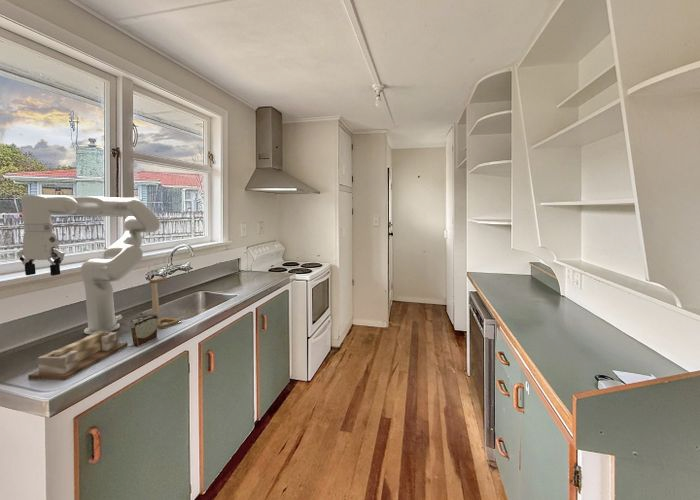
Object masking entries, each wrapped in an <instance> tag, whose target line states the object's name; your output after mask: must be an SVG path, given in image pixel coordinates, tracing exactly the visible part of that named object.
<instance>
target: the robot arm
mask: <svg viewBox="0 0 700 500" xmlns="http://www.w3.org/2000/svg"><path fill="white" fill-rule="evenodd" d="M20 202H21V211H22V221H23V229H24V232H23V235H22V237H23V238H22V249H21V250H20V251H17V256H18V259H19V261H21V262H22V265H24V273H25V276H33V275H35V274H36V264H35V263H34V262H35V261H48V262H49V263H50V265H49V271H50V276H52V277H54V276H59V275H61V267H60V264H62V262H63V260H64V257H65V255H66V252H64V251H62V250H61V249H60V245H59V242H58V237H57V234H56V232H54V231H53V230H54V228H55V227H54V225H53V219H52V216H81V217H82V216H84V217H126V218H125V219H124V222H123V230H124V233H123V235H122V236H121V237H120V238H119V239H118V240H116V242H114V243H112V244H111V245H110V246H109V247H107V248H106V249H105V251H104V252H103V255H102V256H103V257H102V258H92V259H87V260H86V261H85V262H84V263H82V265H81V266H80V275H81V279H82V281H83V285H84V290H85V291H84V292H85V304H86V315H87V326H88V327H86V328H84V329H83V333H84V334H86V335H91V334H93V333H96V332H115V330H118V329H120V327H121V325H120V323H118V321H119V320H121V319H123V315H121V314H119V315H115V312H116V311H115V304H114V303H115V301H114V290H113V286H112V285H113V284H112V283H114V282H118V281H120V280H122V279H123V278H125V277H126V276H127V275H128V274H129V273H131V272H132V271H133V270H134V269H135V268H136V267H137V266H138V265H139V264H140V263H141V261H142V260H143V255H144V254H143V250H142V249H141V247H142V246H141V245H142V235H141V233H155V232H157V231H158V230H159V229H160V225H161V223H160V220H159V217H158V216H157V215H156V214H155V213H154V212H153V211H152V210H151V209H150V208H149V207H148V205H146V204H145V203H144V202H143V201H141V200H140V199H138V198H135V197H111V196H110V197H108V196H107V197H106V196H97V195H96V196H95V195H94V196H69V195H44V194H24V195H22V196H21V199H20ZM111 282H112V283H111Z"/></svg>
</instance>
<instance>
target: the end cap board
mask: <svg viewBox="0 0 700 500" xmlns="http://www.w3.org/2000/svg"><path fill="white" fill-rule="evenodd" d="M96 333H97V332H96ZM93 334H95V333H93ZM105 334H106V335H105V336H103V337H101V339H102V350H100V351H98V352H96V353H94V354H92V355H90V356H88V357H86V358H84V359H82V360H80V361H79V360H78V351H71V352H68V353H66V354H64V355H62V356H60V357H54V353H53V352H54V351H55V350H52V351H50V352H48V353H46V354H43V355H40V356H38V357H37V364H38V365H37V366H38V370H37V371H34V372H32V373H30V374H28V375H27V376H28V377H27V378H28V380H53V381H54V380H56V381H59V380H60V381H66V379H67V380H68V379H70V378H73V376H75V375H77V374H79V373H81V372H82V371H85V370H86V369H89V368H90V367H92V366H94V365H95V364H98V363H99V362H101V361H103V360H105V359H107V358H108V357H110V356H112V355H114V354H116V353H117V352H119V351H121V350H123V349H125V348H126V347H128V343H126V342H125V343H124V342H120V339H119V331H111V332H105ZM90 335H92V334H88V335H87V336H86V337H88V336H90Z"/></svg>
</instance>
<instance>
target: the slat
mask: <svg viewBox="0 0 700 500" xmlns="http://www.w3.org/2000/svg"><path fill="white" fill-rule="evenodd" d="M89 335H90V336H89ZM89 335H87V336H88V337H87V336H85V337H84V338H81V339H78V340H77V341H75V342H72V343H70V344H66V345H65V346H63V347H61V348H57V350H53V351H54V352H53V353H54V357H60V356H62V355H64V354H66V353H68V352H71V351H78V360H79V361H80V360H82V359H84V358H86V357H88V356H90V355H92V354H94V353H96V352H98V351H100V350H102V339H101V337H103V336H105V335H106V334H105V332H97V333H95V334H92V335H91V334H89Z"/></svg>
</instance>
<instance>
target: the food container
mask: <svg viewBox="0 0 700 500" xmlns="http://www.w3.org/2000/svg"><path fill="white" fill-rule="evenodd" d="M158 318H159V317H158V314H153V313H146V314H141V315H137V316H134V317H131V318H130V319H129V321H128V324H127V326H128V328H130V333H131V338H132V344H133V346H134V347H137V348H139V347H141V346H144V345H145V343H146V344H147V343H149V342H152V341H154V340H155V339H158V329H157V320H158Z"/></svg>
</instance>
